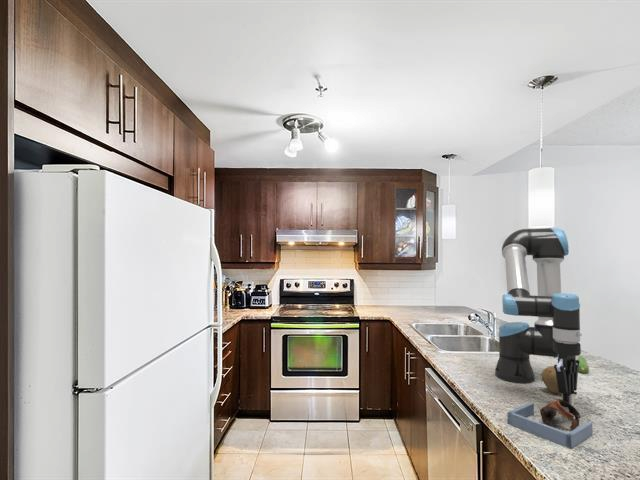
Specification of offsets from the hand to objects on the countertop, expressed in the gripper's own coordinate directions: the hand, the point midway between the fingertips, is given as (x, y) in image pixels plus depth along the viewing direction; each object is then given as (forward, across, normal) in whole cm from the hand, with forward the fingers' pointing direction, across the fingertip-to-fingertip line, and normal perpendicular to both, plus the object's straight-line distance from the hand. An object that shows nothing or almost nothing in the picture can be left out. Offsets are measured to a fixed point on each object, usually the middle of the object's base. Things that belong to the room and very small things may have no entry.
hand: (568, 413), depth 120 cm
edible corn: (+2, +63, +20) cm, 66 cm away
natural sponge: (+2, +21, +13) cm, 25 cm away
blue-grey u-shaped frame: (+2, -13, 0) cm, 13 cm away
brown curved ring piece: (+2, -7, 0) cm, 7 cm away
